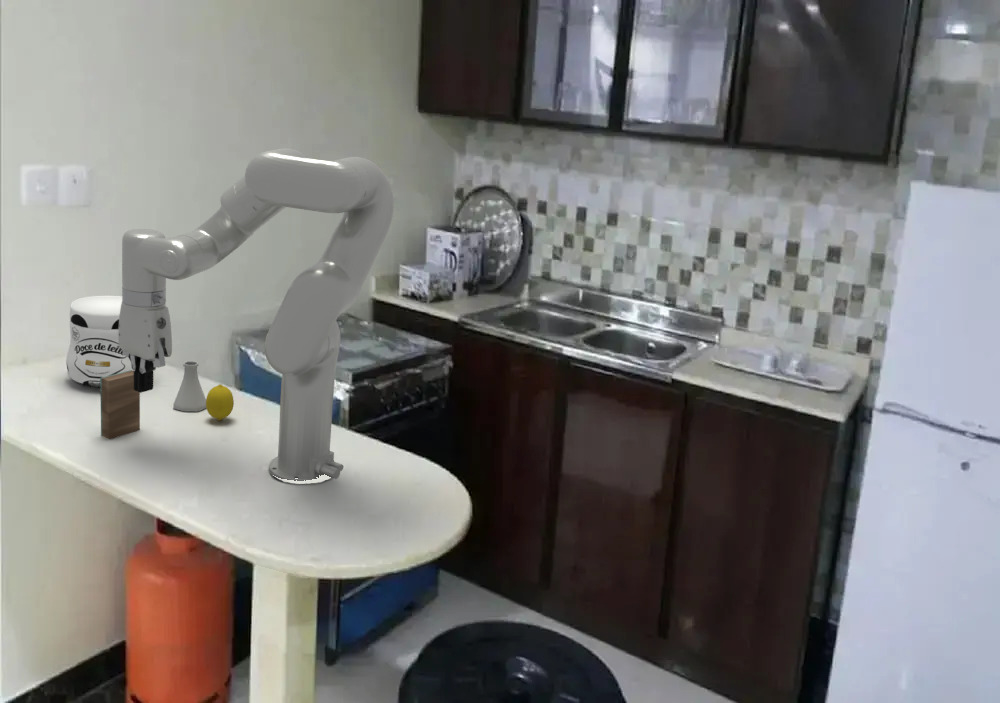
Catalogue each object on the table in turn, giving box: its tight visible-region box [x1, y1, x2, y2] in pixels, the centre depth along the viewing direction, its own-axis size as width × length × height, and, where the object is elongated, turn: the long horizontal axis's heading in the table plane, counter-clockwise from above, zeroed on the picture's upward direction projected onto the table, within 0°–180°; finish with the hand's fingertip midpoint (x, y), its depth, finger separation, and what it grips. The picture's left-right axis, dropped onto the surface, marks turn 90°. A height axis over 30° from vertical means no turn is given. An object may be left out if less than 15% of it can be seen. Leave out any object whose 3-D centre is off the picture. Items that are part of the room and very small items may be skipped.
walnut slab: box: [99, 370, 141, 440], centre depth 182 cm, size 2×7×12 cm, turn 149°
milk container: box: [65, 294, 148, 389], centre depth 206 cm, size 17×17×18 cm
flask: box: [172, 360, 207, 412], centre depth 199 cm, size 7×7×10 cm
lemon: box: [205, 384, 235, 422], centre depth 193 cm, size 6×6×8 cm
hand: (143, 389), depth 177 cm, fingers closed
